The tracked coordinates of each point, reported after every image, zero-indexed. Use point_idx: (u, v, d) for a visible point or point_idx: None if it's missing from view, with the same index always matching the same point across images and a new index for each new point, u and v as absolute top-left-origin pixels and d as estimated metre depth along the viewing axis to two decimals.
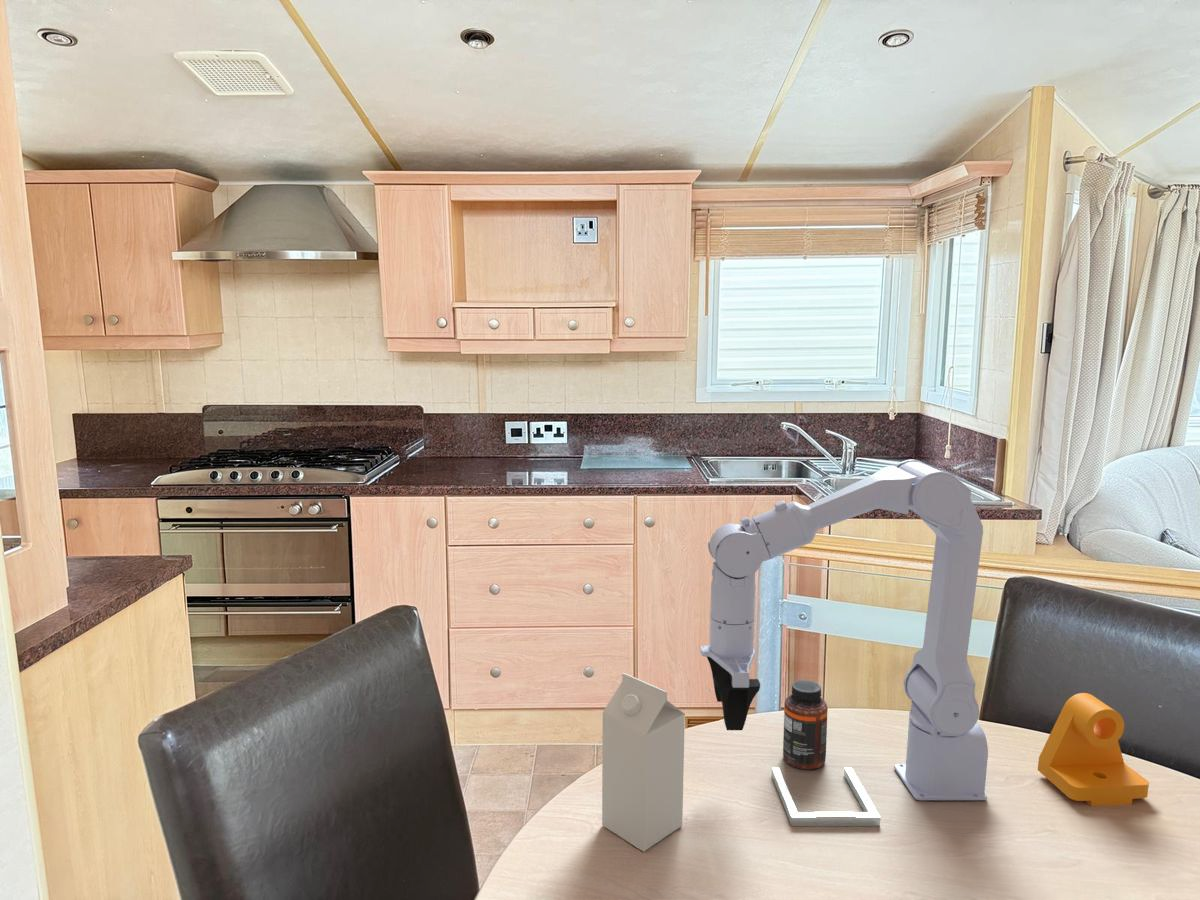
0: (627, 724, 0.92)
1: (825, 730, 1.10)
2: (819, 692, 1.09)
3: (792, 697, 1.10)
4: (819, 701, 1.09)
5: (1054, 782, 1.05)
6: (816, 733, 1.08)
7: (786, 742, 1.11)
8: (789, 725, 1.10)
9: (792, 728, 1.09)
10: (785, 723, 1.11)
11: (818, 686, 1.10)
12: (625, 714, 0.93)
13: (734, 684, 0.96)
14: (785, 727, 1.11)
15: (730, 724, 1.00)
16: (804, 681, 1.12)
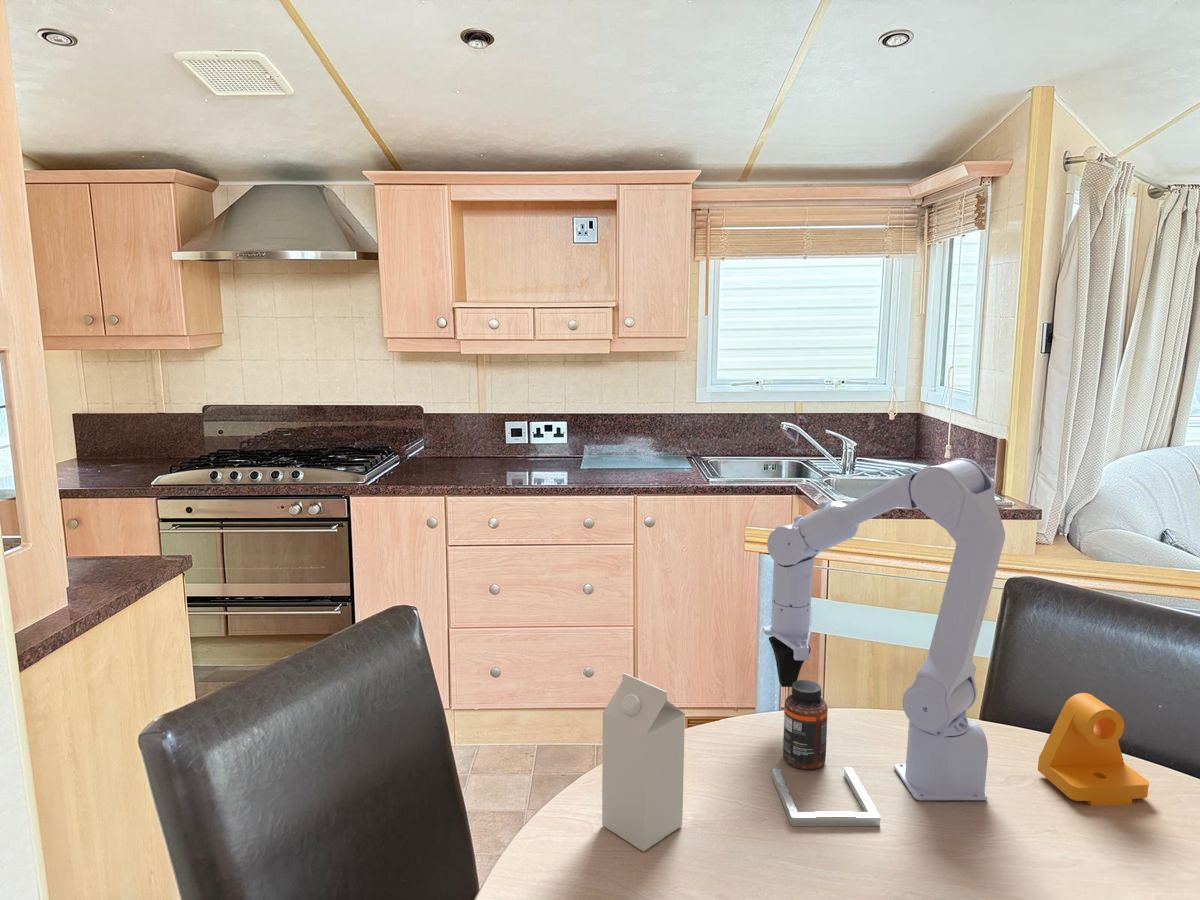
0: (627, 724, 0.92)
1: (825, 730, 1.10)
2: (819, 692, 1.09)
3: (792, 697, 1.10)
4: (819, 701, 1.09)
5: (1054, 782, 1.05)
6: (816, 733, 1.08)
7: (786, 742, 1.11)
8: (789, 725, 1.10)
9: (792, 728, 1.09)
10: (785, 723, 1.11)
11: (818, 686, 1.10)
12: (625, 714, 0.93)
13: (796, 657, 1.13)
14: (785, 727, 1.11)
15: (784, 682, 1.21)
16: (804, 681, 1.12)
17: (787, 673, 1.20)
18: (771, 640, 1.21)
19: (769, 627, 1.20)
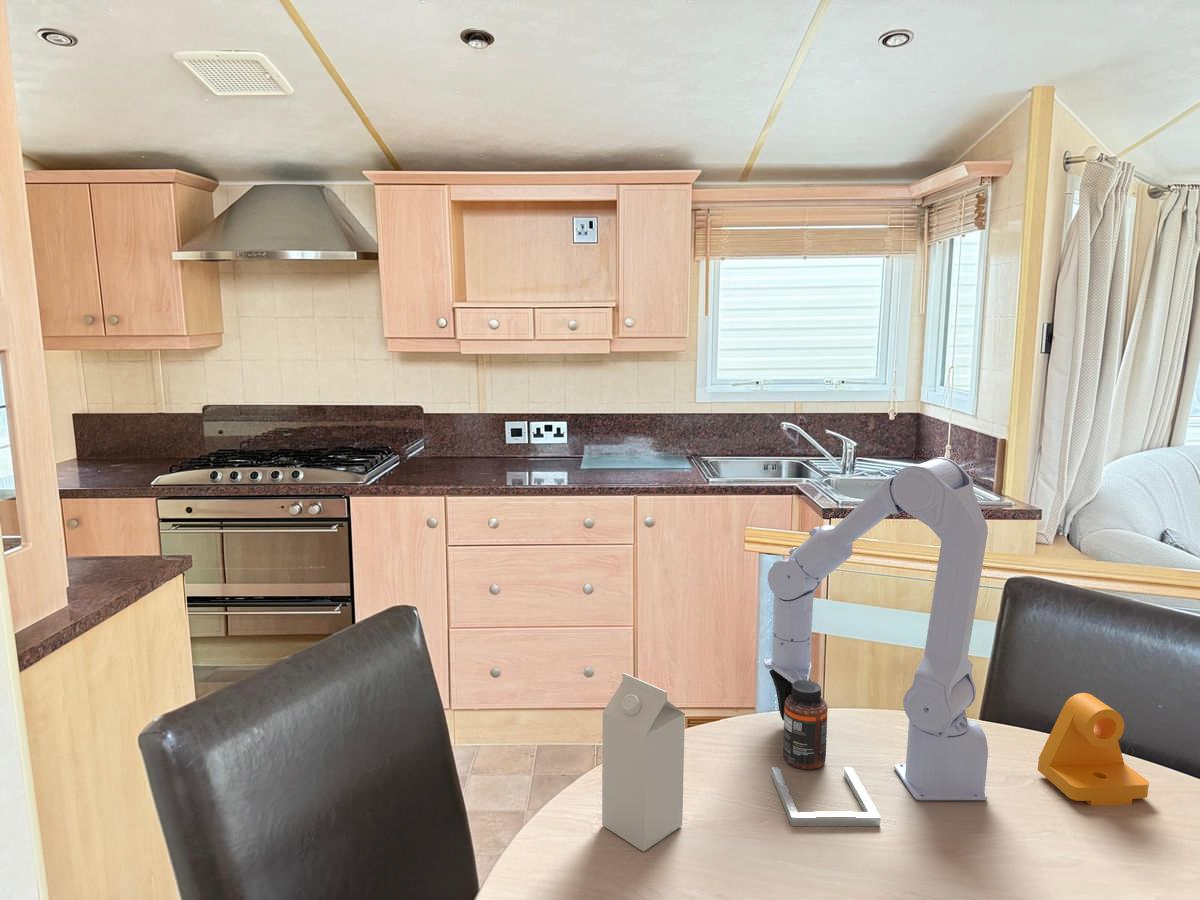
0: (627, 724, 0.92)
1: (825, 730, 1.10)
2: (819, 692, 1.09)
3: (792, 697, 1.10)
4: (819, 701, 1.09)
5: (1054, 782, 1.05)
6: (816, 733, 1.08)
7: (786, 743, 1.11)
8: (789, 725, 1.10)
9: (792, 728, 1.09)
10: (785, 723, 1.11)
11: (818, 686, 1.10)
12: (625, 714, 0.93)
13: None
14: (785, 727, 1.11)
15: None
16: (804, 681, 1.12)
17: None
18: (772, 673, 1.21)
19: (770, 660, 1.20)
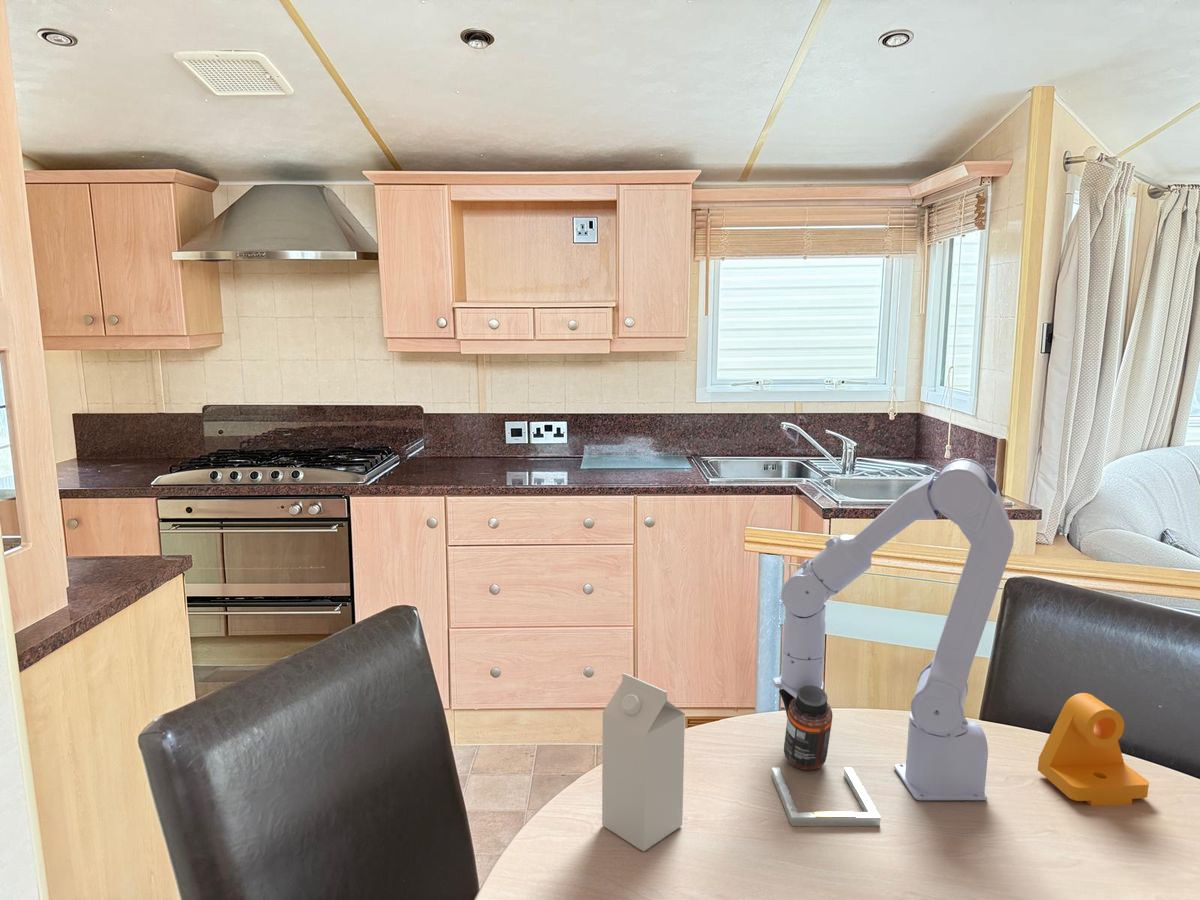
0: (627, 724, 0.92)
1: (828, 736, 1.08)
2: (825, 703, 1.06)
3: (797, 705, 1.07)
4: (824, 711, 1.06)
5: (1054, 782, 1.05)
6: (819, 741, 1.07)
7: (787, 744, 1.09)
8: (792, 731, 1.08)
9: (795, 735, 1.07)
10: (788, 727, 1.09)
11: (824, 696, 1.06)
12: (625, 714, 0.93)
13: None
14: (788, 730, 1.09)
15: None
16: (810, 688, 1.08)
17: None
18: None
19: (779, 679, 1.13)
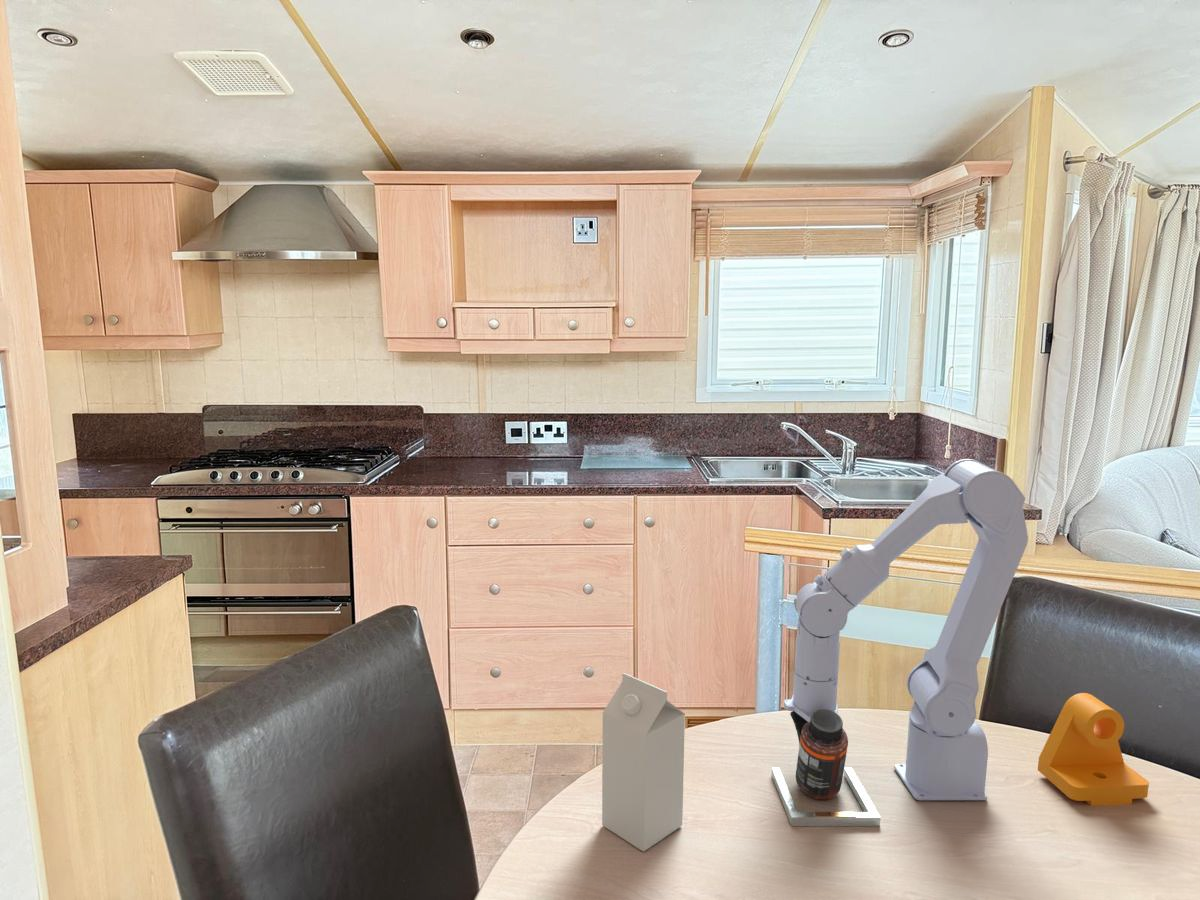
0: (627, 724, 0.92)
1: (843, 763, 1.01)
2: (840, 729, 0.99)
3: (810, 730, 1.01)
4: (839, 738, 1.00)
5: (1054, 782, 1.05)
6: (833, 769, 1.00)
7: (800, 771, 1.03)
8: (805, 758, 1.01)
9: (807, 762, 1.01)
10: (800, 753, 1.02)
11: (840, 721, 1.00)
12: (625, 714, 0.93)
13: None
14: (800, 757, 1.02)
15: None
16: (824, 712, 1.01)
17: None
18: (793, 716, 1.08)
19: (791, 701, 1.07)
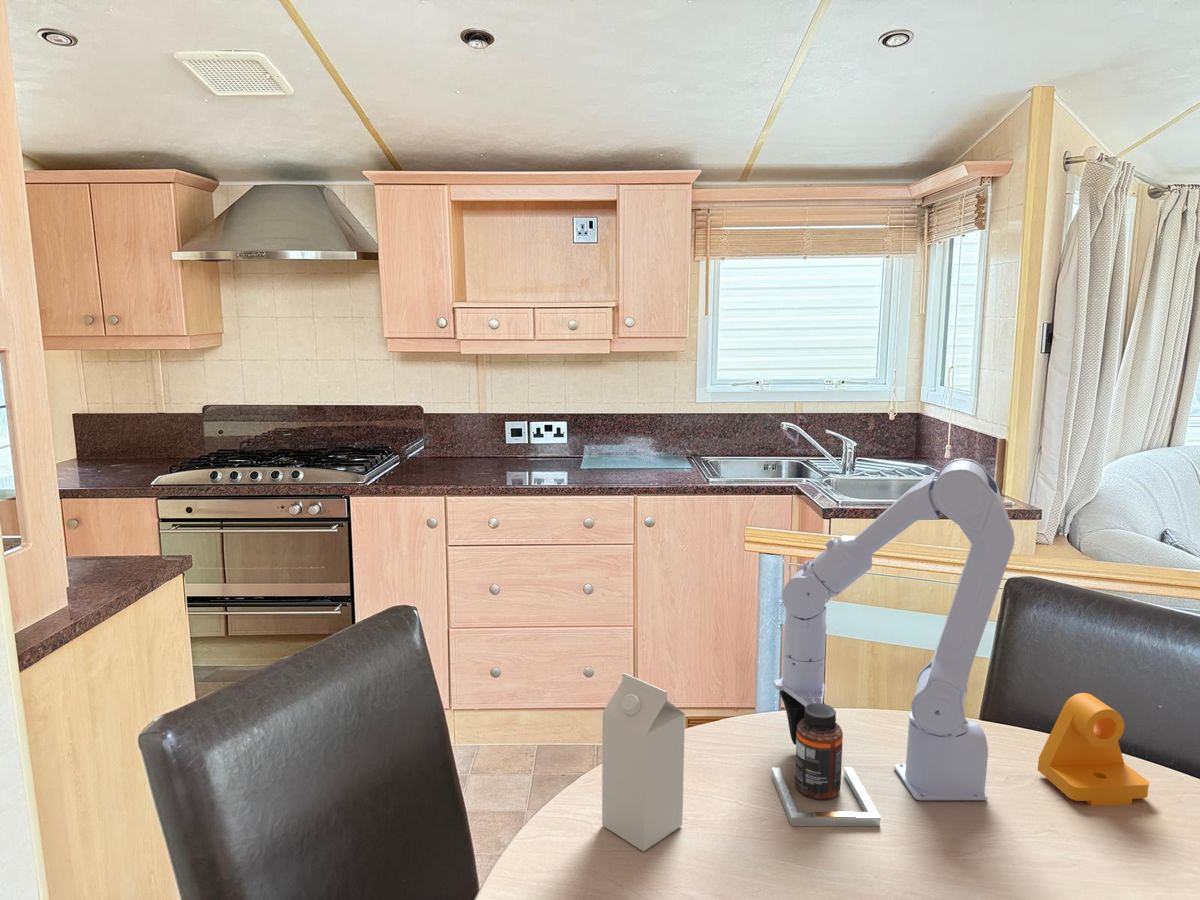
0: (627, 724, 0.92)
1: (840, 757, 1.03)
2: (834, 717, 1.02)
3: (805, 721, 1.04)
4: (834, 727, 1.02)
5: (1054, 782, 1.05)
6: (830, 760, 1.02)
7: (798, 770, 1.04)
8: (802, 752, 1.03)
9: (804, 755, 1.03)
10: (797, 749, 1.04)
11: (833, 710, 1.03)
12: (625, 714, 0.93)
13: None
14: (797, 754, 1.04)
15: None
16: (817, 704, 1.05)
17: None
18: (782, 694, 1.14)
19: (780, 681, 1.13)
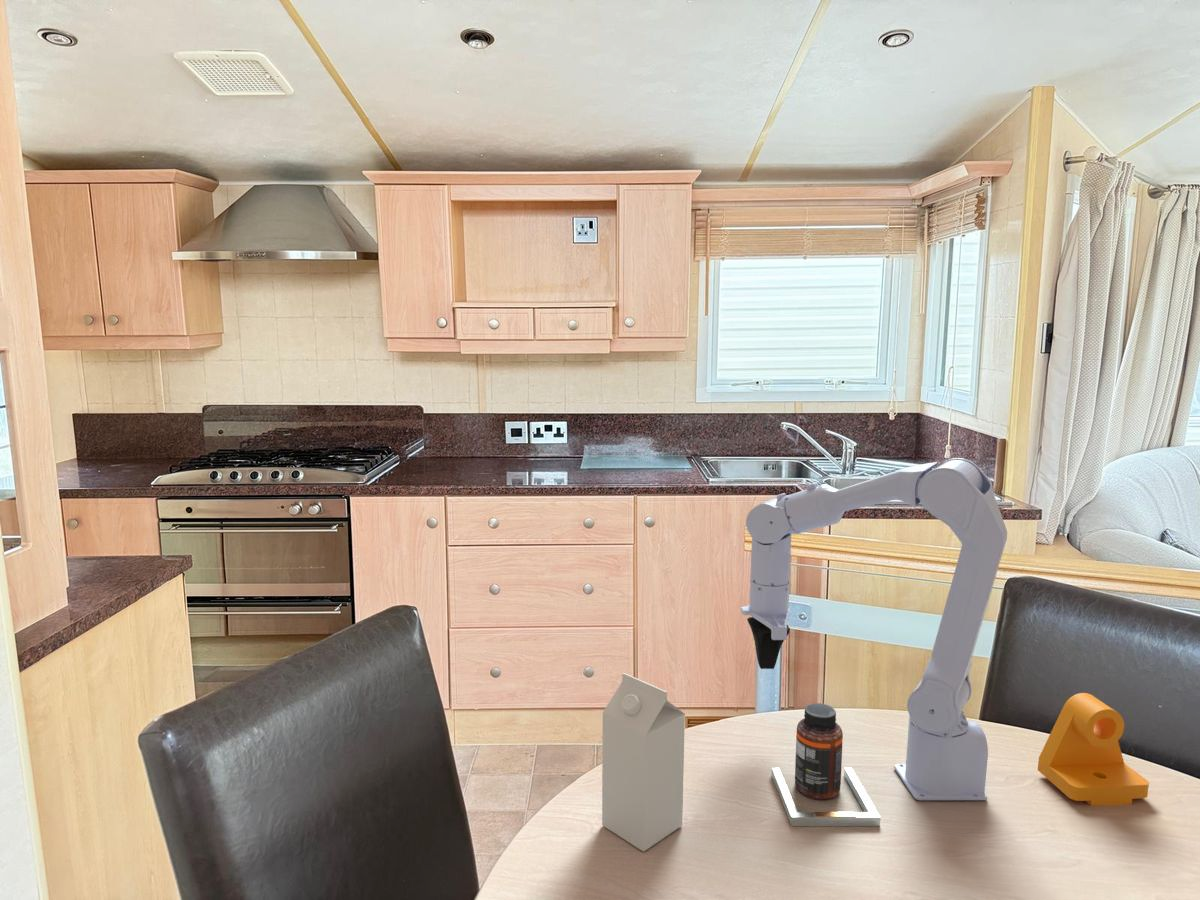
0: (627, 724, 0.92)
1: (840, 757, 1.03)
2: (834, 717, 1.02)
3: (805, 721, 1.04)
4: (834, 727, 1.02)
5: (1054, 782, 1.05)
6: (830, 760, 1.02)
7: (798, 770, 1.04)
8: (802, 752, 1.03)
9: (804, 755, 1.03)
10: (797, 749, 1.04)
11: (833, 710, 1.03)
12: (625, 714, 0.93)
13: (773, 637, 1.10)
14: (797, 754, 1.04)
15: (763, 663, 1.17)
16: (818, 704, 1.05)
17: (766, 654, 1.17)
18: (749, 621, 1.18)
19: (747, 607, 1.17)
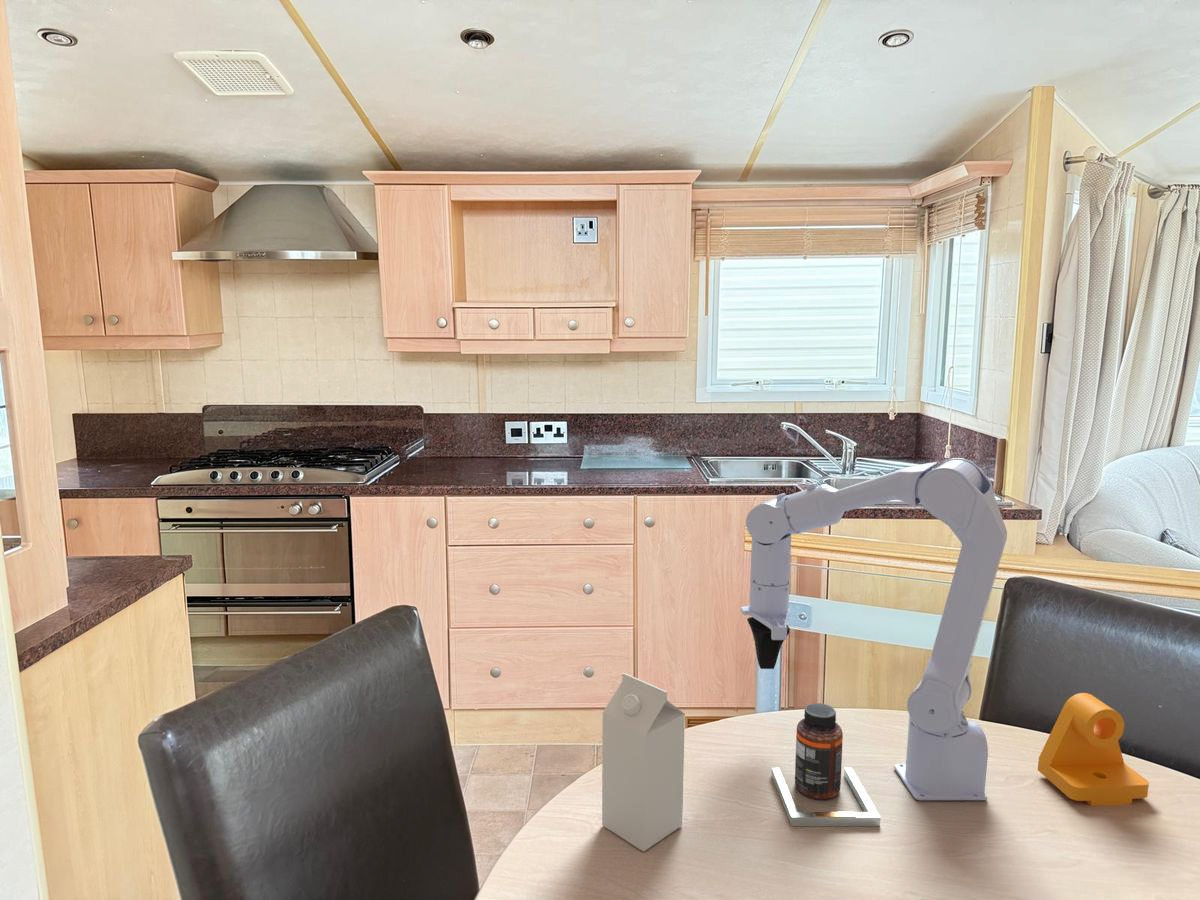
0: (627, 724, 0.92)
1: (840, 757, 1.03)
2: (834, 717, 1.02)
3: (805, 721, 1.04)
4: (834, 727, 1.02)
5: (1054, 782, 1.05)
6: (830, 760, 1.02)
7: (798, 770, 1.04)
8: (802, 752, 1.03)
9: (804, 755, 1.03)
10: (797, 749, 1.04)
11: (833, 710, 1.03)
12: (625, 714, 0.93)
13: (773, 637, 1.10)
14: (797, 754, 1.04)
15: (763, 663, 1.17)
16: (817, 704, 1.05)
17: (766, 654, 1.17)
18: (749, 621, 1.18)
19: (747, 607, 1.17)
